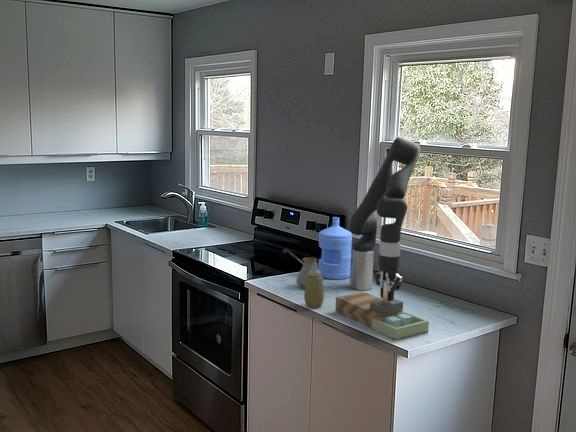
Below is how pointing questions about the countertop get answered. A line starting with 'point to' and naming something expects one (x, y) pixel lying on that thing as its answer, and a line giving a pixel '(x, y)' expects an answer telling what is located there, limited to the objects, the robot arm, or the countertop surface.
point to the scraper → (386, 302)
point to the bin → (402, 332)
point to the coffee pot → (303, 269)
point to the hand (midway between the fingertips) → (386, 299)
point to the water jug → (335, 251)
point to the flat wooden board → (360, 307)
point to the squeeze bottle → (314, 288)
